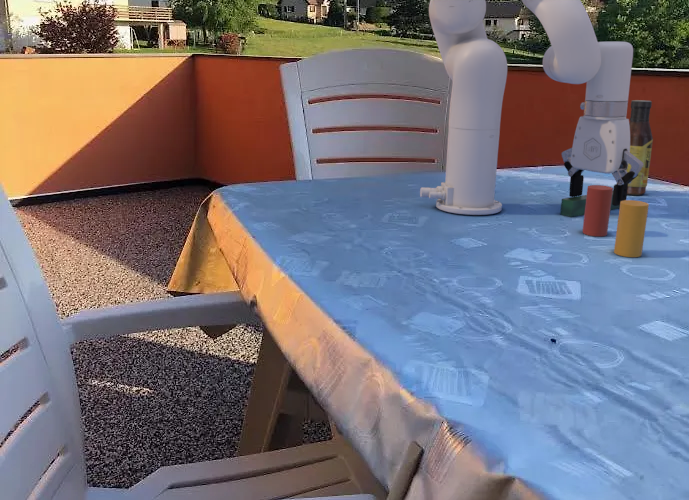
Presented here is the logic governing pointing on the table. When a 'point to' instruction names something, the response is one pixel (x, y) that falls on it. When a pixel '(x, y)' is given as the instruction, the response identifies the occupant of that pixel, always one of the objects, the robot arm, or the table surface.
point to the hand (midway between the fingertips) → (596, 200)
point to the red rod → (597, 210)
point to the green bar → (577, 206)
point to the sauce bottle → (640, 144)
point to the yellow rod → (631, 228)
